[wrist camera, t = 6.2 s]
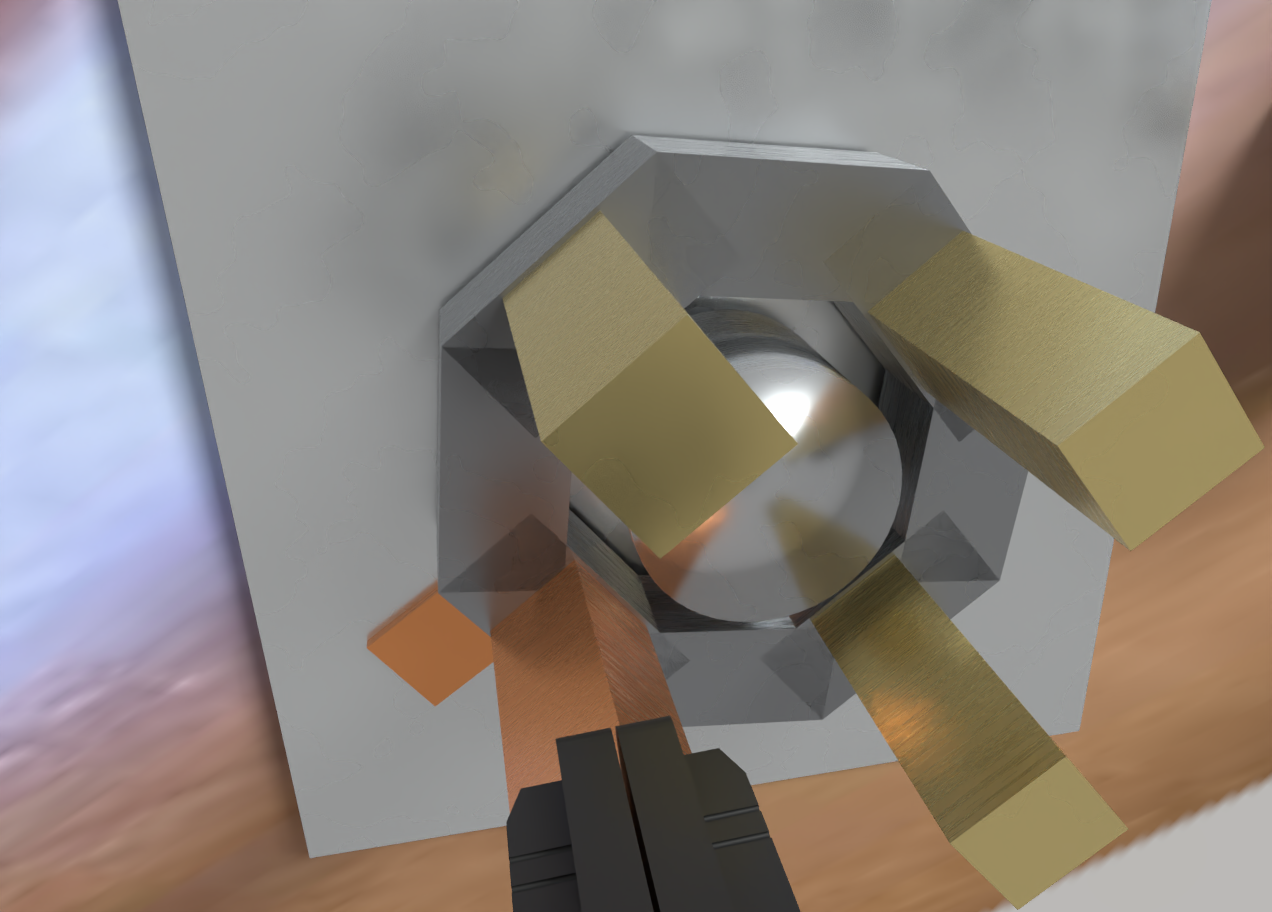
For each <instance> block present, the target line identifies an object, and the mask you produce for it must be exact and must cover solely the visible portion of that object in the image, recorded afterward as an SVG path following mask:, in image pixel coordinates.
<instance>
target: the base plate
mask: <svg viewBox="0 0 1272 912" xmlns="http://www.w3.org/2000/svg"><path fill="white" fill-rule="evenodd" d="M1211 1H1212V0H118V5H119V9H120V13H121V18H122V22H123V27H124V31H125V36H126V40H127V45H128V49H129V54H130V58H131V63H132V67H133V71H134V76H135V80H136V85H137V89H138V94H139V98H140V103H141V107H142V112H143V116H144V121H145V125H146V130H147V134H148V138H149V143H150V147H151V152H152V156H153V161H154V165H155V170H156V174H157V179H158V183H159V188H160V192H161V196H162V201H163V205H164V210H165V214H166V219H167V223H168V228H169V232H170V237H171V241H172V246H173V250H174V255H175V259H176V263H177V268H178V272H179V277H180V281H181V286H182V290H183V295H184V299H185V304H186V308H187V313H188V317H189V321H190V326H191V330H192V335H193V339H194V344H195V348H196V353H197V357H198V362H199V366H200V371H201V375H202V380H203V384H204V388H205V393H206V397H207V402H208V406H209V411H210V415H211V420H212V424H213V429H214V433H215V438H216V442H217V446H218V451H219V455H220V460H221V464H222V469H223V473H224V478H225V482H226V487H227V491H228V496H229V500H230V504H231V509H232V513H233V518H234V522H235V527H236V531H237V536H238V540H239V545H240V549H241V554H242V558H243V563H244V567H245V571H246V576H247V580H248V585H249V589H250V594H251V598H252V603H253V607H254V612H255V616H256V621H257V625H258V629H259V634H260V638H261V643H262V647H263V652H264V656H265V661H266V665H267V670H268V674H269V679H270V683H271V688H272V692H273V696H274V701H275V705H276V710H277V714H278V719H279V723H280V728H281V732H282V737H283V741H284V746H285V750H286V754H287V759H288V763H289V768H290V772H291V777H292V781H293V786H294V790H295V795H296V799H297V804H298V808H299V812H300V817H301V821H302V826H303V830H304V835H305V839H306V844H307V848H308V853H309V857H310V858H314V857H320V856H326V855H332V854H338V853H344V852H350V851H356V850H362V849H368V848H374V847H380V846H386V845H392V844H399V843H405V842H411V841H417V840H423V839H429V838H435V837H441V836H447V835H453V834H459V833H465V832H471V831H477V830H483V829H489V828H495V827H501V826H507V825H506V822H507V820H508V817H509V815H510V810H509V801H508V791H507V782H506V773H505V764H504V754H503V745H502V736H501V727H500V717H499V708H498V699H497V690H496V680H495V671H494V662H493V653H492V643H491V637H490V636H489V635H488V634H486V633H485V632H484V631H483V630H482V629H480V628H479V627H478V626H477V625H476V624H474V623H473V622H472V621H471V620H470V619H468V618H467V617H466V616H465V615H464V614H462V613H461V612H460V611H459V610H458V609H456V608H455V607H454V606H453V605H452V604H450V603H449V602H448V601H447V600H446V599H444V598H443V597H442V596H441V595H440V594H438V573H437V537H436V536H437V466H438V386H439V310H440V309H441V308H442V307H443V306H444V305H445V304H446V303H447V302H448V301H449V300H451V299H452V298H453V297H454V296H455V295H456V294H457V293H458V292H459V291H460V290H461V289H463V288H464V287H465V286H466V285H467V284H468V283H469V282H470V281H471V280H472V279H474V278H475V277H476V276H477V275H478V274H479V273H480V272H481V271H482V270H483V269H485V268H486V267H487V266H488V265H489V264H490V263H491V262H492V261H493V260H494V259H496V258H497V257H498V256H499V255H500V254H501V253H502V252H503V251H504V250H505V249H507V248H508V247H509V246H510V245H511V244H512V243H513V242H514V241H515V240H516V239H518V238H519V237H520V236H521V235H522V234H523V233H524V232H525V231H526V230H527V229H529V228H530V227H531V226H532V225H533V224H534V223H535V222H536V221H537V220H538V219H540V218H541V217H542V216H543V215H544V214H545V213H546V212H547V211H548V210H549V209H551V208H552V207H553V206H554V205H555V204H556V203H557V202H558V201H559V200H560V199H562V198H563V197H564V196H565V195H566V194H567V193H568V192H569V191H570V190H571V189H573V188H574V187H575V186H576V185H577V184H578V183H579V182H580V181H581V180H582V179H583V178H585V177H586V176H587V175H588V174H589V173H590V172H591V171H592V170H593V169H594V168H596V167H597V166H598V165H599V164H600V163H601V162H602V161H603V160H604V159H605V158H607V157H608V156H609V155H610V154H611V153H612V152H613V151H614V150H615V149H616V148H618V147H619V146H620V145H621V144H622V143H623V142H624V141H625V140H626V139H627V138H629V137H630V136H631V135H638V136H652V137H666V138H680V139H694V140H708V141H722V142H736V143H750V144H764V145H778V146H792V147H806V148H820V149H834V150H848V151H862V152H876V153H880V154H883V155H886V156H889V157H892V158H895V159H898V160H901V161H904V162H907V163H910V164H913V165H916V166H919V167H921V168H924V169H927V170H930V172H931V173H932V175H933V176H934V178H935V179H936V181H937V182H938V184H939V185H940V187H941V188H942V190H943V191H944V193H945V194H946V196H947V197H948V199H949V200H950V202H951V203H952V205H953V206H954V208H955V209H956V211H957V212H958V214H959V216H960V217H961V219H962V220H963V222H964V223H965V225H966V226H967V228H968V229H969V231H970V232H971V234H972V235H974V236H977V237H979V238H981V239H984V240H986V241H988V242H991V243H993V244H995V245H998V246H1000V247H1002V248H1005V249H1007V250H1009V251H1012V252H1014V253H1016V254H1019V255H1021V256H1023V257H1026V258H1028V259H1030V260H1033V261H1035V262H1037V263H1040V264H1042V265H1044V266H1047V267H1049V268H1051V269H1054V270H1056V271H1058V272H1061V273H1063V274H1065V275H1067V276H1070V277H1072V278H1074V279H1077V280H1079V281H1081V282H1084V283H1086V284H1088V285H1091V286H1093V287H1095V288H1098V289H1100V290H1102V291H1105V292H1107V293H1109V294H1112V295H1114V296H1116V297H1119V298H1121V299H1123V300H1126V301H1128V302H1130V303H1133V304H1135V305H1137V306H1140V307H1142V308H1144V309H1147V310H1149V311H1151V312H1154V313H1155V310H1156V304H1157V299H1158V293H1159V288H1160V282H1161V277H1162V271H1163V266H1164V260H1165V255H1166V249H1167V244H1168V238H1169V233H1170V227H1171V222H1172V216H1173V211H1174V205H1175V200H1176V194H1177V188H1178V183H1179V177H1180V172H1181V166H1182V161H1183V155H1184V150H1185V144H1186V139H1187V133H1188V128H1189V122H1190V117H1191V111H1192V106H1193V100H1194V95H1195V89H1196V84H1197V78H1198V73H1199V67H1200V62H1201V56H1202V51H1203V45H1204V39H1205V34H1206V28H1207V23H1208V17H1209V12H1210V6H1211ZM684 309H685V310H686V312H687V313H688V314H689V315H690V316H691V318H692V319H693V320H694V321H695V322H696V323H697V325H698V326H699V327H700V328H701V329H702V331H703V332H704V333H705V334H706V335H707V336H708V338H709V339H710V340H711V341H712V342H713V344H714V345H715V346H716V347H717V348H718V350H719V351H720V352H721V353H722V354H723V355H724V357H725V358H726V359H727V360H728V361H729V363H730V364H731V365H732V366H733V367H734V368H735V370H736V371H737V372H738V373H739V374H740V376H741V377H742V378H743V379H744V380H745V381H746V383H747V384H748V385H749V386H750V387H751V389H752V390H753V391H754V392H755V393H756V395H757V396H758V397H759V398H760V399H761V400H762V402H763V403H764V404H765V405H766V406H767V408H768V409H769V410H770V411H771V412H772V413H773V415H774V416H775V417H776V418H777V419H778V421H779V422H780V423H781V424H782V425H783V427H784V428H785V429H786V430H787V431H788V432H789V434H790V435H791V436H792V437H793V438H794V440H795V441H796V442H797V443H798V445H796V446H795V447H794V448H793V449H792V450H790V451H789V452H788V453H787V454H786V455H784V456H783V457H782V458H781V459H780V460H778V461H777V462H776V463H775V464H774V465H772V466H771V467H770V468H769V469H768V470H766V471H765V472H764V473H763V474H762V475H760V476H759V477H758V478H757V479H756V480H754V481H753V482H752V483H751V484H750V485H748V486H747V487H746V488H745V489H744V490H742V491H741V492H740V493H739V494H738V495H736V496H735V497H734V498H733V499H732V500H730V501H729V502H728V503H727V504H726V505H724V506H723V507H722V508H721V509H720V510H718V511H717V512H716V513H715V514H714V515H712V516H711V517H710V518H709V519H708V520H706V521H705V522H704V523H703V524H702V525H700V526H699V527H698V528H697V529H696V530H694V531H693V532H692V533H691V534H690V535H688V536H687V537H686V538H685V539H684V540H682V541H681V542H680V543H679V544H678V545H676V546H675V547H674V548H673V549H672V550H670V551H669V552H668V553H667V554H666V555H664V556H663V557H662V558H661V559H660V558H659V557H658V556H657V555H656V554H655V553H654V552H653V551H652V550H651V549H650V548H649V547H648V546H647V545H646V544H645V543H644V542H643V541H641V540H640V539H639V538H638V537H637V536H636V535H635V534H634V533H633V532H632V531H631V530H630V529H629V528H628V527H627V526H626V525H625V524H624V523H623V522H622V521H621V520H620V519H619V518H618V517H617V516H616V515H615V514H614V513H613V512H612V511H611V510H610V509H609V508H608V507H607V506H606V505H605V504H604V503H603V502H602V501H601V500H600V499H599V498H598V497H597V496H596V495H595V494H594V493H593V492H592V491H591V490H590V489H589V488H588V487H586V486H585V485H584V484H583V483H582V482H581V481H580V480H579V479H578V478H577V477H576V476H575V475H574V474H573V473H571V488H570V502H569V509H570V510H571V511H572V512H573V513H574V514H575V515H576V516H577V517H578V518H579V519H580V520H581V521H582V522H583V523H584V524H585V525H586V526H587V527H588V528H590V529H591V530H592V531H593V532H594V533H595V534H596V535H597V536H598V537H599V538H600V539H601V540H602V541H603V542H604V543H605V544H606V545H607V546H608V547H609V548H610V549H611V550H613V551H614V552H615V553H616V554H617V555H618V556H619V557H620V558H621V559H622V560H623V561H624V562H625V563H626V564H627V565H628V566H629V567H630V568H631V569H632V570H633V571H634V572H636V573H637V574H638V575H639V576H642V575H650V577H651V578H652V579H653V580H654V582H655V583H656V584H657V585H658V586H659V587H660V588H661V590H663V591H664V592H665V593H666V594H667V595H669V596H670V597H671V598H672V599H673V600H675V601H676V602H678V603H680V604H681V605H683V606H684V607H686V608H688V609H690V610H693V611H695V612H697V613H699V614H702V615H705V616H709V617H712V618H715V619H720V620H727V621H733V622H757V621H767V620H773V619H778V618H783V617H786V616H789V615H792V614H796V613H799V612H801V611H804V610H806V609H808V608H811V607H813V606H815V605H817V604H819V603H821V602H822V601H824V600H826V599H828V598H829V597H831V596H833V595H834V594H835V593H837V592H838V591H840V590H841V589H842V588H844V587H845V586H846V585H847V584H848V583H850V582H851V581H852V580H853V579H854V578H855V577H856V576H858V575H859V573H860V572H861V571H862V570H863V569H864V568H865V567H866V566H867V565H868V564H869V562H870V561H871V560H872V558H873V557H874V556H875V554H876V553H877V552H878V550H879V549H880V547H881V545H882V544H883V542H884V540H885V538H886V537H887V535H888V533H889V531H890V528H891V526H892V524H893V521H894V519H895V516H896V512H897V509H898V505H899V501H900V494H901V488H902V466H901V458H900V452H899V449H898V445H897V442H896V438H895V436H894V434H893V432H892V429H891V427H890V425H889V423H888V422H887V420H886V419H885V417H884V416H883V414H882V413H881V411H880V410H879V409H878V406H879V401H880V396H881V391H882V385H883V380H884V375H885V368H884V367H883V366H882V364H881V363H880V362H879V361H878V359H877V358H876V357H875V355H874V354H873V353H872V351H871V350H870V349H869V348H868V346H867V345H866V344H865V342H864V341H863V340H862V338H861V337H860V336H859V334H858V333H857V332H856V331H855V329H854V328H853V327H852V325H851V324H850V323H849V321H848V320H847V319H846V318H845V316H844V315H843V314H842V312H841V311H840V310H839V308H838V307H837V306H836V304H835V303H834V302H833V301H817V300H791V299H765V298H739V297H714V296H698V297H697V298H696V299H695V300H694V301H692V302H691V303H690V304H689V305H688V306H687V307H686V308H684ZM1113 542H1114V538H1113V537H1112V536H1111V535H1109V534H1108V533H1107V532H1106V531H1104V530H1103V529H1102V528H1100V527H1099V526H1098V525H1097V524H1095V523H1094V522H1093V521H1091V520H1090V519H1089V518H1088V517H1086V516H1085V515H1084V514H1082V513H1081V512H1080V511H1079V510H1077V509H1076V508H1075V507H1073V506H1072V505H1071V504H1070V503H1068V502H1067V501H1066V500H1065V499H1063V498H1062V497H1061V496H1059V495H1058V494H1057V493H1056V492H1054V491H1053V490H1052V489H1050V488H1049V487H1048V486H1047V485H1045V484H1044V483H1043V482H1041V481H1040V480H1039V479H1038V478H1036V477H1035V476H1034V475H1032V474H1031V473H1030V472H1029V471H1028V475H1027V478H1026V482H1025V486H1024V490H1023V494H1022V498H1021V501H1020V505H1019V509H1018V513H1017V517H1016V520H1015V524H1014V528H1013V532H1012V536H1011V540H1010V543H1009V547H1008V551H1007V555H1006V559H1005V563H1004V566H1003V570H1002V574H1001V578H1000V581H999V582H997V583H996V584H995V585H994V586H992V587H991V588H990V589H989V590H987V591H986V592H985V593H983V594H982V595H981V596H980V597H978V598H977V599H976V600H974V601H973V602H972V603H971V604H969V605H968V606H967V607H966V608H964V609H963V610H962V611H960V612H959V613H958V614H957V615H955V616H954V617H953V618H952V619H950V620H951V621H952V622H953V623H954V624H955V626H956V627H957V628H958V629H959V630H960V631H961V633H962V634H963V635H964V636H965V637H966V639H967V640H968V641H969V642H970V643H971V644H972V646H973V647H974V648H975V649H976V650H977V651H978V653H979V654H980V655H981V656H982V657H983V659H984V660H985V661H986V662H987V663H988V664H989V666H990V667H991V668H992V669H993V670H994V671H995V673H996V674H997V675H998V676H999V677H1000V678H1001V680H1002V681H1003V682H1004V683H1005V684H1006V686H1007V687H1008V688H1009V689H1010V690H1011V691H1012V693H1013V694H1014V695H1015V696H1016V697H1017V698H1018V700H1019V701H1020V702H1021V703H1022V704H1023V706H1024V707H1025V708H1026V709H1027V710H1028V711H1029V713H1030V714H1031V715H1032V716H1033V717H1034V718H1035V720H1036V721H1037V722H1038V723H1039V724H1040V726H1041V727H1042V728H1043V729H1044V730H1045V731H1046V733H1047V734H1048V735H1049V736H1051V735H1057V734H1063V733H1069V732H1075V731H1079V729H1080V724H1081V718H1082V713H1083V707H1084V702H1085V696H1086V691H1087V685H1088V680H1089V674H1090V669H1091V663H1092V658H1093V652H1094V646H1095V641H1096V635H1097V630H1098V624H1099V619H1100V613H1101V608H1102V602H1103V597H1104V591H1105V586H1106V580H1107V575H1108V569H1109V564H1110V558H1111V553H1112V547H1113ZM683 730H684V733H685V735H686V738H687V741H688V744H689V747H690V749H691V752H692V753H696V752H701V751H706V750H711V749H716V748H719V749H721V750H722V751H723V752H724V753H725V754H726V755H727V756H728V757H729V758H730V759H731V760H733V761H734V762H735V763H736V764H737V765H738V766H739V767H740V768H741V769H742V770H744V771H745V772H746V774H747V777H748V780H749V782H750V785H755V784H761V783H767V782H773V781H779V780H785V779H791V778H797V777H803V776H809V775H815V774H821V773H827V772H833V771H839V770H846V769H852V768H858V767H864V766H870V765H876V764H882V763H888V762H894V761H898V759H897V758H896V756H895V754H894V753H893V751H892V750H891V748H890V746H889V745H888V743H887V742H886V740H885V738H884V737H883V735H882V734H881V732H880V730H879V729H878V727H877V726H876V724H875V722H874V721H873V719H872V718H871V716H870V714H869V713H868V711H867V710H866V708H865V706H864V705H863V703H862V702H861V700H860V698H859V697H858V695H857V694H855V695H854V696H852V697H851V698H850V699H848V700H847V701H846V702H845V703H843V704H842V705H841V706H839V707H838V708H837V709H836V710H834V711H833V712H832V713H831V714H829V715H828V716H827V717H825V718H824V719H823V720H809V721H790V722H771V723H751V724H732V725H712V726H693V727H683Z"/></svg>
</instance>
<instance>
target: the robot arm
mask: <svg viewBox="0 0 1272 912" xmlns="http://www.w3.org/2000/svg"><path fill="white" fill-rule="evenodd" d="M615 732H616V740H617V747H618V754H619V760H618V755H617V751H616V747H615V742H614V738H613V734H612V730H611V728H606V729H601V730H596V731H591V732H586V733H581V734H576V735H571V736H566V737H561V738H556V746H557V752H558V759H559V765H560V772H561V779H562V780H560V781H555V782H550V783H545V784H540V785H536V786H531V787H526V788H521V789H520V791H519V794H518V796H517V798H516V801H515V803H514V805H513V808H512V810H511V813H510V815H509V817H508V820H507V822H506V825H507V838H508V851H509V860H510V877H511V888H512V903H513V912H800V909H799V907H798V904H797V901H796V899H795V896H794V894H793V891H792V889H791V886H790V884H789V881H788V879H787V876H786V874H785V871H784V868H783V866H782V863H781V861H780V858H779V856H778V853H777V851H776V848H775V846H774V843H773V841H772V838H770V835H769V830H768V828H767V825H766V823H765V820H764V818H763V815H762V813H761V811H760V810H759V806H758V802H757V800H756V797H755V795H754V792H753V790H752V787H751V785H750V782H749V780H748V777H747V774H746V772H745V771H744V770H742V769H741V768H740V767H739V766H738V765H737V764H736V763H735V762H734V761H733V760H731V759H730V758H729V757H728V756H727V755H726V754H725V753H724V752H723V751H722V750H721V749H719V748H716V749H711V750H706V751H701V752H696V753H691V754H686V755H684V754H683V751H682V748H681V745H680V742H679V739H678V736H677V732H676V729H675V726H674V723H673V720H672V718H671V716H665V717H660V718H655V719H650V720H645V721H640V722H635V723H630V724H625V725H620V726H615ZM619 761H620V764H619Z"/></svg>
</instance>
